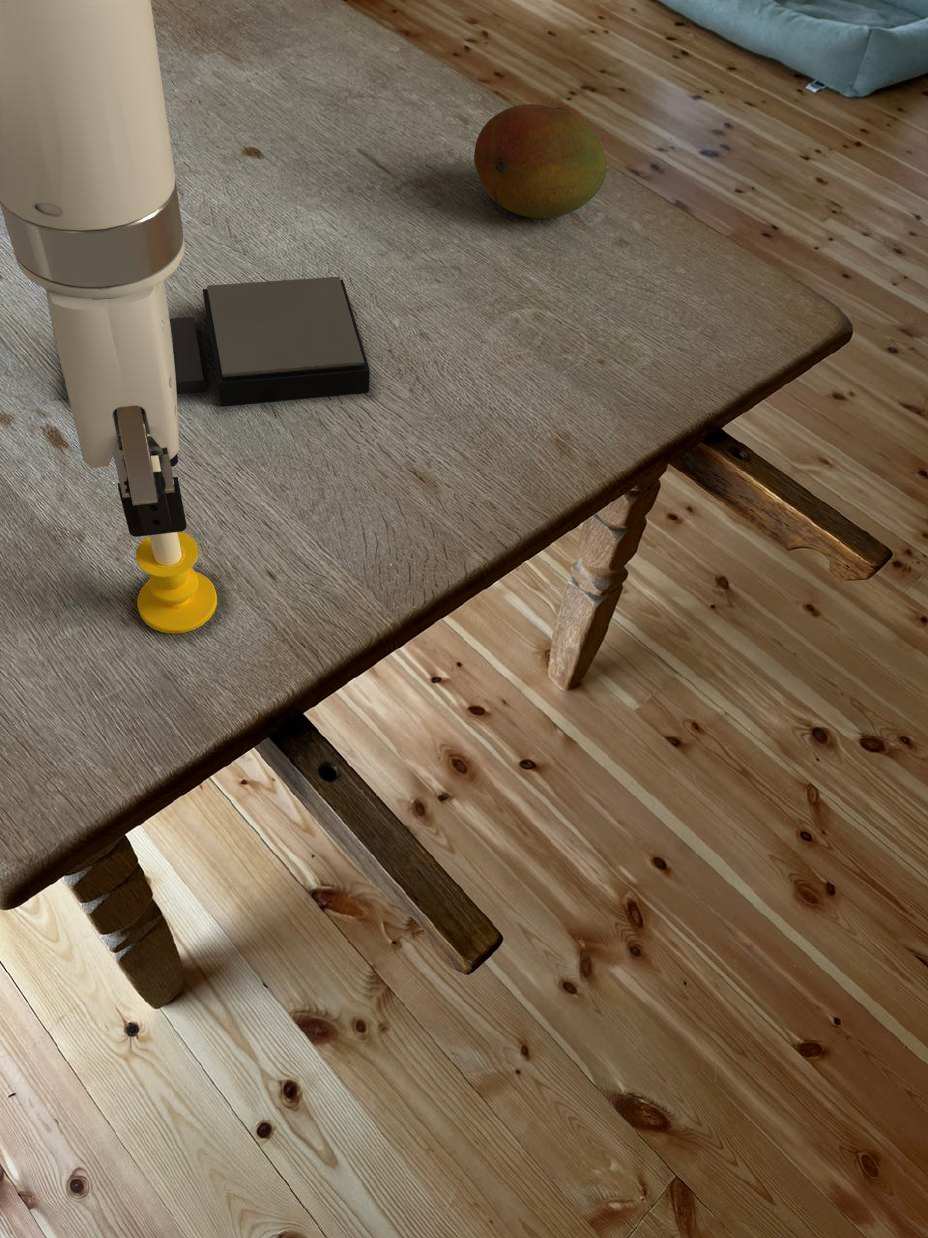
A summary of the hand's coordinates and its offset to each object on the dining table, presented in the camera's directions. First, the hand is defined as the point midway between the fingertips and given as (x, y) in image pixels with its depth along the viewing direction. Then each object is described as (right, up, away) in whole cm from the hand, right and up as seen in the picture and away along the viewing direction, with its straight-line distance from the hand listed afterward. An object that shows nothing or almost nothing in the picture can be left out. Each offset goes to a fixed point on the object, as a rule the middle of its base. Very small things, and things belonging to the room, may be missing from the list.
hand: (154, 494), depth 60 cm
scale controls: (-8, +13, +22) cm, 27 cm away
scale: (+3, +15, +25) cm, 29 cm away
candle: (-1, -6, +9) cm, 11 cm away
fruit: (+26, +34, +42) cm, 60 cm away
